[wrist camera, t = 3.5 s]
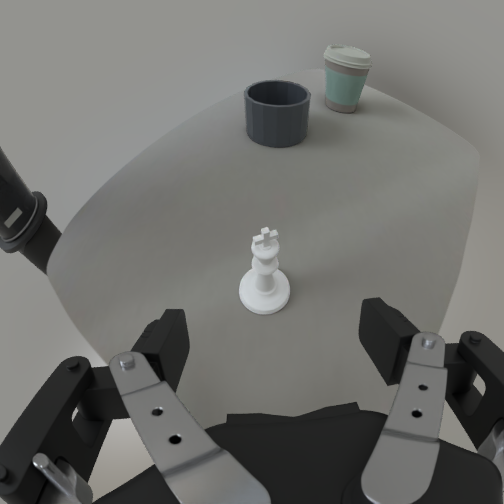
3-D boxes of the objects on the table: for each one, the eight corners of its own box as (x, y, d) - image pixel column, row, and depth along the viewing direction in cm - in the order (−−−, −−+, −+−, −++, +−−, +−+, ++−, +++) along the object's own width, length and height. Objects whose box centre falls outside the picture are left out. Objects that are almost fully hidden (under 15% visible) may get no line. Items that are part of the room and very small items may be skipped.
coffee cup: (345, 94, 48) (353, 44, 37) (370, 115, 43) (383, 60, 33) (310, 97, 46) (315, 43, 36) (334, 119, 42) (343, 58, 32)
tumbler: (250, 150, 38) (248, 109, 32) (243, 117, 42) (241, 82, 36) (313, 145, 38) (319, 106, 32) (298, 114, 43) (300, 79, 37)
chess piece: (298, 303, 26) (316, 248, 17) (249, 322, 25) (242, 274, 17) (278, 261, 28) (284, 194, 20) (232, 277, 28) (218, 214, 19)
